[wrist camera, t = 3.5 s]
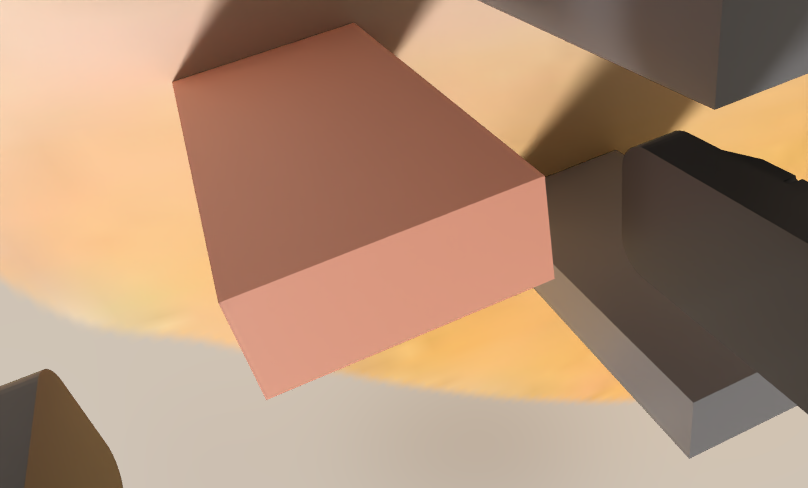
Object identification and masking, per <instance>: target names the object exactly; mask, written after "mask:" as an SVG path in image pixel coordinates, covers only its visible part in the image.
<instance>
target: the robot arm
mask: <svg viewBox="0 0 808 488" xmlns="http://www.w3.org/2000/svg"><path fill="white" fill-rule="evenodd" d="M622 242H623V247H624V251H625V253H626V256H627V258H628V260H629V262H630V264H631V265H632V267H633V268H634V270H635V271H636V272H637V273H638V274H639V275H640V276H641V277H642V278H643V279H644V280H646V281H647V282H648V283H649V284H651V285H652V286H653V287H654V288H655V289H657V290H658V291H659V292H660V293H661V294H663V295H664V296H665V297H666V298H668V299H669V300H670V301H671V302H672V303H674V304H675V305H676V306H677V307H678V308H680V309H681V310H682V311H683V312H685V313H686V314H687V315H688V316H689V317H691V318H692V319H693V320H694V321H695V322H697V323H698V324H699V325H700V326H702V327H703V328H704V329H705V330H706V331H708V332H709V333H710V334H711V335H712V336H714V337H715V338H716V339H717V340H719V341H720V342H721V343H722V344H723V345H725V346H726V347H727V348H728V349H729V350H731V351H732V352H733V353H734V354H736V355H737V356H738V357H739V358H740V359H742V360H743V361H744V362H745V363H746V364H748V365H749V366H750V367H751V368H753V369H754V370H755V371H756V372H757V373H759V374H760V375H761V376H762V377H763V378H765V379H766V380H767V381H768V382H770V383H771V384H772V385H773V386H774V387H776V388H777V389H778V390H779V391H780V392H782V393H783V394H784V395H785V396H787V397H788V398H789V399H790V400H791V401H793V402H794V403H795V404H796V405H797V406H799V407H800V408H801V409H802V410H804V411H805V412H806V413H807V414H808V182H807V181H805V180H803V179H801V180H799V181H798V180H797V179H796V176H795V175H793V174H791V173H789V172H787V171H785V170H783V169H781V168H779V167H777V166H775V165H773V164H771V163H769V162H767V161H765V160H763V159H758V158H754V157H750V156H746V155H741V154H737V153H733V152H728V151H724V150H721V149H719V148H717V147H715V146H713V145H711V144H709V143H707V142H705V141H703V140H701V139H699V138H697V137H695V136H693V135H691V134H689V133H687V132H685V131H674V132H672V133H669V134H666V135H664V136H661V137H659V138H656V139H653V140H651V141H648V142H645V143H643V144H640V145H638V146H635V147H632V148H630V149H629V150H628V151H627V152H626V153H625V155H624V158H623V163H622ZM0 488H123V485H122V480H121V476H120V473H119V469H118V466H117V464H116V461H115V459H114V457H113V454H112V453H111V451H110V449H109V447H108V446H107V444H106V443H105V441H104V440H103V438H102V437H101V436H100V434H99V433H98V431H97V430H96V429H95V427H94V426H93V424H92V423H91V422H90V420H89V419H88V417H87V416H86V414H85V413H84V412H83V410H82V409H81V408H80V406H79V405H78V403H77V402H76V400H75V399H74V398H73V396H72V395H71V393H70V392H69V391H68V389H67V388H66V386H65V385H64V383H63V382H62V381H61V379H60V378H59V377H58V376H57V375H56V374H55V373H54V372H53V371H51V370H49V369H44V370H42V371H39V372H36V373H34V374H31V375H29V376H26V377H23V378H21V379H18V380H16V381H13V382H10V383H8V384H5V385H2V386H0Z"/></svg>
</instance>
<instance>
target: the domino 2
mask: <svg viewBox="0 0 808 488" xmlns="http://www.w3.org/2000/svg"><path fill="white" fill-rule="evenodd" d="M479 1H481V2H483V3H485V4H487V5H489V6H491V7H494V8H496V9H498V10H500V11H502V12H504V13H507V14H509V15H511V16H513V17H515V18H517V19H520V20H522V21H524V22H526V23H528V24H530V25H533V26H535V27H537V28H539V29H541V30H543V31H546V32H548V33H550V34H552V35H554V36H556V37H558V38H561V39H563V40H565V41H567V42H569V43H571V44H574V45H576V46H578V47H580V48H582V49H584V50H587V51H589V52H591V53H593V54H595V55H597V56H600V57H602V58H604V59H606V60H608V61H610V62H613V63H615V64H617V65H619V66H621V67H623V68H625V69H628V70H630V71H632V72H634V73H636V74H638V75H641V76H643V77H645V78H647V79H649V80H651V81H654V82H656V83H658V84H660V85H662V86H664V87H667V88H669V89H671V90H673V91H675V92H677V93H680V94H682V95H684V96H686V97H688V98H690V99H693V100H695V101H697V102H699V103H701V104H703V105H705V106H708V107H710V108H712V109H714V110H715V109H718V108H720V107H723V106H725V105H728V104H731V103H733V102H736V101H738V100H741V99H743V98H746V97H749V96H751V95H754V94H756V93H759V92H761V91H764V90H766V89H769V88H772V87H774V86H777V85H779V84H782V83H784V82H787V81H790V80H792V79H795V78H797V77H800V76H802V75H805V74H808V0H479Z"/></svg>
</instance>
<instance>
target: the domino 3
mask: <svg viewBox="0 0 808 488" xmlns="http://www.w3.org/2000/svg"><path fill="white" fill-rule="evenodd" d="M623 158H624V155H623V154H622V153H620V152H619V151H617V150H614V151H612V152H609V153H607V154H604V155H602V156H599V157H596V158H594V159H591V160H589V161H586V162H584V163H581V164H578V165H576V166H573V167H571V168H568V169H566V170H563V171H561V172H558V173H555V174H553V175H550V176H548V177H545V184H546V195H547V205H548V216H549V226H550V236H551V247H552V257H553V268H554V278H555V279H553V280H550V281H548V282H546V283H543V284H541V285H539V286H536V287H534V289H535V290H536V291H537V292H538V294H539V295H540V296H541V297H542V298H543V299H544V300H545V301H546V302H547V303H548V305H549V306H550V307H551V308H552V309H553V310H554V311H555V312H556V313H557V314H558V315H559V317H560V318H561V319H562V320H563V321H564V322H565V323H566V324H567V325H568V326H569V328H570V329H571V330H572V331H573V332H574V333H575V334H576V335H577V336H578V337H579V338H580V340H581V341H582V342H583V343H584V344H585V345H586V346H587V347H588V348H589V349H590V350H591V352H592V353H593V354H594V355H595V356H596V357H597V358H598V359H599V360H600V361H601V363H602V364H603V365H604V366H605V367H606V368H607V369H608V370H609V371H610V372H611V373H612V375H613V376H614V377H615V378H616V379H617V380H618V381H619V382H620V383H621V384H622V386H623V387H624V388H625V389H626V390H627V391H628V392H629V393H630V394H631V395H632V396H633V398H634V399H635V400H636V401H637V402H638V403H639V404H640V405H641V406H642V407H643V408H644V409H645V411H646V412H647V413H648V414H649V415H650V416H651V417H652V418H653V419H654V421H655V422H656V423H657V424H658V425H659V426H660V427H661V428H662V429H663V430H664V431H665V433H666V434H668V436H669V437H670V438H671V439H672V440H673V441H674V442H675V444H676V445H677V446H678V447H679V448H680V449H681V450H682V451H683V452H684V453H685V454H686V455H687V457H688V458H692V457H694V456H696V455H698V454H700V453H702V452H704V451H706V450H708V449H710V448H712V447H714V446H716V445H718V444H720V443H722V442H724V441H726V440H728V439H730V438H732V437H734V436H736V435H738V434H740V433H742V432H744V431H747V430H748V429H751V428H753V427H754V426H756V425H759V424H761V423H763V422H765V421H767V420H769V419H771V418H773V417H775V416H777V415H779V414H781V413H783V412H785V411H787V410H789V409H791V408H793V407H795V406H797V405H796V404H795V403H794V402H793V401H791V400H790V399H789V398H788V397H787V396H785V395H784V394H783V393H782V392H780V391H779V390H778V389H777V388H776V387H774V386H773V385H772V384H771V383H770V382H768V381H767V380H766V379H765V378H763V377H762V376H761V375H760V374H759V373H757V372H756V371H755V370H754V369H753V368H751V367H750V366H749V365H748V364H746V363H745V362H744V361H743V360H742V359H740V358H739V357H738V356H737V355H736V354H734V353H733V352H732V351H731V350H729V349H728V348H727V347H726V346H725V345H723V344H722V343H721V342H720V341H719V340H717V339H716V338H715V337H714V336H712V335H711V334H710V333H709V332H708V331H706V330H705V329H704V328H703V327H702V326H700V325H699V324H698V323H697V322H695V321H694V320H693V319H692V318H691V317H689V316H688V315H687V314H686V313H685V312H683V311H682V310H681V309H680V308H678V307H677V306H676V305H675V304H674V303H672V302H671V301H670V300H669V299H668V298H666V297H665V296H664V295H663V294H661V293H660V292H659V291H658V290H657V289H655V288H654V287H653V286H652V285H651V284H649V283H648V282H647V281H646V280H644V279H643V278H642V277H641V276H640V275H639V274H638V273H637V272H636V271H635V270H634V268H633V267H632V265H631V264H630V262H629V260H628V258H627V256H626V253H625V251H624V247H623V242H622V163H623Z"/></svg>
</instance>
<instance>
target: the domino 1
mask: <svg viewBox="0 0 808 488" xmlns="http://www.w3.org/2000/svg"><path fill="white" fill-rule="evenodd" d="M172 83H173V88H174V93H175V97H176V102H177V107H178V112H179V117H180V121H181V126H182V131H183V136H184V141H185V145H186V150H187V155H188V160H189V164H190V169H191V174H192V179H193V184H194V188H195V193H196V198H197V203H198V208H199V212H200V217H201V222H202V227H203V232H204V236H205V241H206V246H207V251H208V255H209V260H210V265H211V270H212V275H213V279H214V284H215V289H216V294H217V299H218V303H219V305H220V307H221V309H222V311H223V313H224V315H225V317H226V319H227V321H228V323H229V325H230V327H231V329H232V331H233V333H234V335H235V337H236V339H237V341H238V344H239V346H240V348H241V350H242V352H243V354H244V356H245V358H246V360H247V362H248V364H249V366H250V368H251V370H252V372H253V374H254V376H255V378H256V380H257V382H258V384H259V386H260V388H261V390H262V392H263V394H264V396H265V398H266V400H267V399H270V398H272V397H274V396H277V395H279V394H282V393H284V392H286V391H289V390H291V389H294V388H296V387H298V386H301V385H303V384H305V383H308V382H310V381H313V380H315V379H317V378H320V377H322V376H325V375H327V374H329V373H332V372H334V371H336V370H339V369H341V368H344V367H346V366H348V365H351V364H353V363H355V362H358V361H360V360H363V359H365V358H367V357H370V356H372V355H374V354H377V353H379V352H382V351H384V350H386V349H389V348H391V347H393V346H396V345H398V344H401V343H403V342H405V341H408V340H410V339H413V338H415V337H417V336H420V335H422V334H424V333H427V332H429V331H432V330H434V329H436V328H439V327H441V326H443V325H446V324H448V323H451V322H453V321H455V320H458V319H460V318H462V317H465V316H467V315H470V314H472V313H474V312H477V311H479V310H481V309H484V308H486V307H489V306H491V305H493V304H496V303H498V302H500V301H503V300H505V299H508V298H510V297H512V296H515V295H517V294H520V293H522V292H524V291H527V290H529V289H531V288H534V287H536V286H539V285H541V284H543V283H546V282H548V281H550V280H553V279H555V278H554V268H553V257H552V247H551V236H550V226H549V216H548V205H547V195H546V184H545V176H544V175H543V174H542V173H541V172H539V171H538V170H537V169H536V168H534V167H533V166H532V165H531V164H529V163H528V162H527V161H526V160H524V159H523V158H522V157H521V156H519V155H518V154H517V153H516V152H514V151H513V150H512V149H511V148H509V147H508V146H507V145H506V144H504V143H503V142H502V141H501V140H499V139H498V138H497V137H496V136H495V135H493V134H492V133H491V132H490V131H488V130H487V129H486V128H485V127H483V126H482V125H481V124H480V123H478V122H477V121H476V120H475V119H473V118H472V117H471V116H470V115H468V114H467V113H466V112H465V111H463V110H462V109H461V108H460V107H458V106H457V105H456V104H455V103H453V102H452V101H451V100H450V99H448V98H447V97H446V96H445V95H444V94H442V93H441V92H440V91H439V90H437V89H436V88H435V87H434V86H432V85H431V84H430V83H429V82H427V81H426V80H425V79H424V78H422V77H421V76H420V75H419V74H417V73H416V72H415V71H414V70H412V69H411V68H410V67H409V66H407V65H406V64H405V63H404V62H402V61H401V60H400V59H399V58H397V57H396V56H395V55H394V54H393V53H391V52H390V51H389V50H388V49H386V48H385V47H384V46H383V45H381V44H380V43H379V42H378V41H376V40H375V39H374V38H373V37H371V36H370V35H369V34H368V33H366V32H365V31H364V30H363V29H361V28H360V27H359V26H358V25H356V24H355V23H351V24H348V25H345V26H342V27H339V28H336V29H333V30H330V31H327V32H324V33H321V34H318V35H315V36H311V37H308V38H305V39H302V40H299V41H296V42H293V43H290V44H287V45H284V46H281V47H278V48H275V49H272V50H269V51H266V52H262V53H259V54H256V55H253V56H250V57H247V58H244V59H241V60H238V61H235V62H232V63H229V64H226V65H223V66H220V67H217V68H213V69H210V70H207V71H204V72H201V73H198V74H195V75H192V76H189V77H186V78H183V79H180V80H177V81H174V82H172Z"/></svg>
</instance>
